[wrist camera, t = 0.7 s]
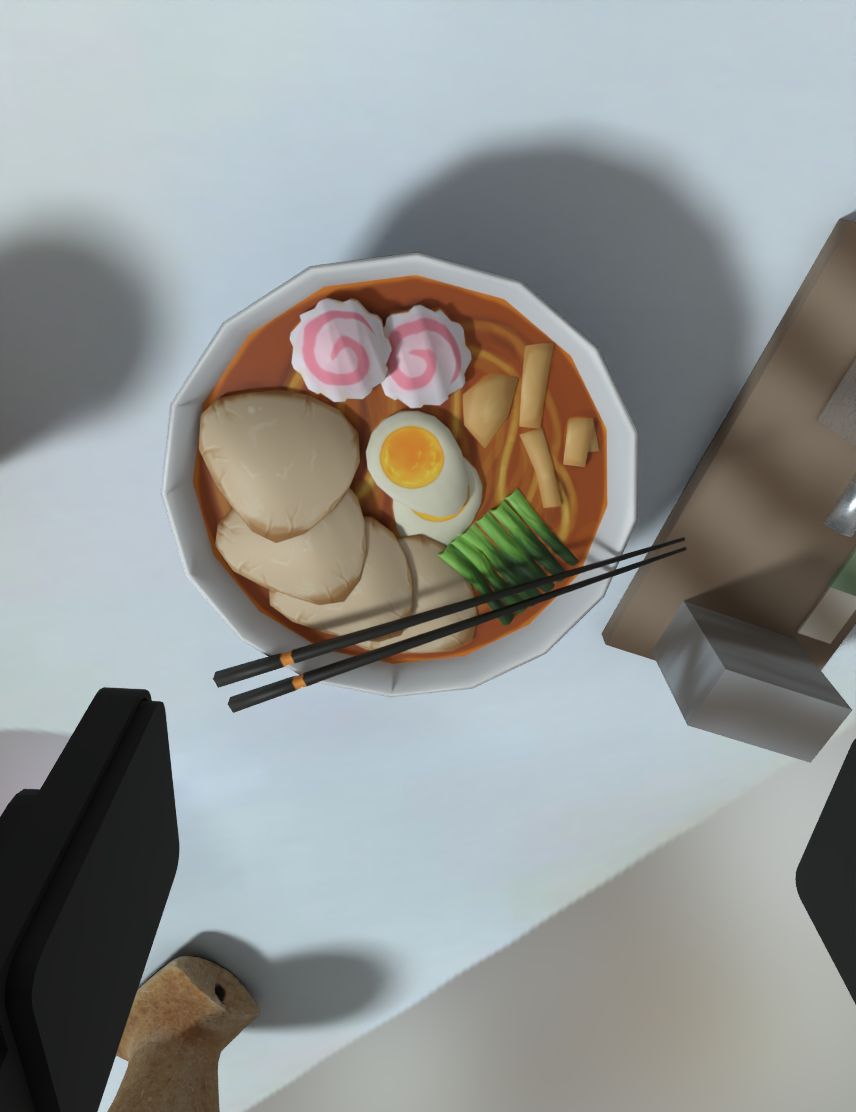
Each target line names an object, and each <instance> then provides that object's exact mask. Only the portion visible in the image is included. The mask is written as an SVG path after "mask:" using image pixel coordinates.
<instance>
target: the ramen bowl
mask: <svg viewBox="0 0 856 1112" xmlns="http://www.w3.org/2000/svg"><path fill="white" fill-rule="evenodd" d="M637 472H638V432H637V430H636V427H635V425H634V423H633V421H632V419H631V417H630V415H629V413H628V410H627V408H626V406H625V404H624V402H623V400H622V398H621V396H620V393H619V391H618V389H617V387H616V385H615V383H614V381H613V379H612V376H611V374H610V372H609V370H608V368H607V366H606V364H605V362H604V359H603V357H602V355H601V353H600V351H599V349H598V347H597V346H595V345H594V344H593V343H592V342H591V341H590V340H589V339H587V338H586V337H585V336H584V335H583V334H582V333H580V332H579V331H578V330H577V329H576V328H575V327H574V326H572V325H571V324H570V323H569V322H568V321H567V320H565V319H564V318H563V317H562V316H561V315H560V314H559V313H557V312H556V311H555V310H554V309H553V308H552V307H550V306H549V305H548V304H547V303H546V302H545V301H544V300H542V299H541V298H540V297H539V296H538V295H537V294H535V293H534V292H533V291H532V290H531V289H530V288H529V287H527V286H526V285H525V284H524V283H523V282H522V281H519V280H516V279H512V278H508V277H505V276H501V275H498V274H494V273H491V272H487V271H483V270H480V269H476V268H473V267H469V266H466V265H462V264H458V263H455V262H451V261H448V260H444V259H441V258H437V257H433V256H430V255H426V254H423V253H419V252H414V253H407V254H399V255H392V256H384V257H376V258H369V259H361V260H353V261H346V262H338V263H330V264H323V265H315V266H310V267H308V268H307V269H305V270H303V271H302V272H300V273H299V274H297V275H296V276H294V277H293V278H291V279H290V280H288V281H286V282H285V283H283V284H282V285H280V286H279V287H277V288H276V289H274V290H273V291H271V292H269V293H268V294H266V295H265V296H263V297H262V298H260V299H259V300H257V301H256V302H254V303H252V304H251V305H249V306H248V307H246V308H245V309H243V310H242V311H240V312H239V313H237V314H236V315H234V316H232V317H231V318H229V319H228V320H226V321H225V322H223V323H222V325H221V326H220V328H219V330H218V331H217V333H216V334H215V336H214V337H213V339H212V340H211V342H210V344H209V345H208V347H207V348H206V350H205V351H204V353H203V354H202V356H201V358H200V359H199V361H198V362H197V364H196V365H195V367H194V368H193V370H192V372H191V373H190V375H189V376H188V378H187V379H186V381H185V382H184V384H183V386H182V387H181V389H180V390H179V392H178V393H177V395H176V396H175V398H174V399H173V401H172V403H171V406H170V415H169V424H168V433H167V442H166V451H165V460H164V469H163V478H162V488H161V496H162V499H163V502H164V506H165V509H166V512H167V515H168V519H169V522H170V525H171V528H172V532H173V535H174V538H175V541H176V545H177V548H178V551H179V554H180V558H181V561H182V564H183V567H184V571H185V574H186V576H187V577H188V578H189V580H190V581H191V582H192V583H193V584H194V586H195V587H196V588H197V589H198V590H199V592H200V593H201V594H202V595H203V596H204V597H205V599H206V600H207V601H208V602H209V603H210V605H211V606H212V607H213V608H214V609H215V610H216V612H217V613H218V614H219V615H220V616H221V618H222V619H223V620H224V621H225V622H226V623H227V625H228V626H229V627H230V628H231V629H232V631H233V632H234V633H235V634H236V635H237V636H238V638H239V639H240V640H242V641H243V642H245V643H247V644H248V645H250V646H252V647H254V648H255V649H257V650H259V651H260V652H262V653H264V654H265V655H267V656H269V657H265V658H262V659H258V660H255V661H251V662H248V663H245V664H241V665H238V666H234V667H231V668H227V669H224V670H220V671H217V672H215V675H214V678H213V680H214V681H215V683H216V685H217V686H218V688H219V687H222V686H225V685H228V684H231V683H235V682H238V681H241V680H244V679H247V678H250V677H254V676H257V675H260V674H263V673H266V672H269V671H273V670H276V669H279V668H282V667H285V666H286V667H287V668H289V669H291V670H293V671H294V672H296V673H298V674H299V676H293V677H290V678H287V679H284V680H281V681H278V682H275V683H272V684H269V685H266V686H263V687H259V688H256V689H253V690H250V691H247V692H244V693H241V694H238V695H235V696H232V697H230V699H229V702H228V705H229V707H230V709H231V710H232V712H233V713H234V712H237V711H240V710H242V709H245V708H248V707H251V706H253V705H256V704H259V703H262V702H265V701H267V700H270V699H273V698H276V697H279V696H281V695H284V694H287V693H290V692H292V691H295V690H297V689H299V688H301V687H306V686H309V685H312V684H315V683H321V684H327V685H332V686H337V687H342V688H347V689H352V690H357V691H362V692H367V693H372V694H377V695H382V696H387V697H399V696H408V695H417V694H426V693H436V692H445V691H454V690H463V689H472V688H474V687H477V686H479V685H481V684H483V683H485V682H487V681H489V680H491V679H493V678H496V677H498V676H500V675H502V674H504V673H506V672H508V671H510V670H512V669H515V668H517V667H519V666H521V665H523V664H525V663H527V662H529V661H531V660H533V659H536V658H538V657H540V656H542V655H544V654H546V653H547V652H548V651H549V650H550V649H551V648H552V647H553V646H554V645H555V644H556V643H557V642H558V641H559V640H560V639H561V638H562V637H563V636H564V635H565V634H566V633H567V632H568V631H569V630H570V629H571V628H573V627H574V626H575V625H576V624H577V623H578V622H579V621H580V620H581V619H582V618H583V617H584V616H585V615H586V614H587V613H588V612H589V611H590V610H591V609H592V608H593V607H594V606H595V605H596V604H597V603H598V602H599V601H600V600H601V599H602V598H603V597H604V596H605V594H606V591H607V589H608V587H609V584H610V582H611V580H612V577H613V576H616V575H618V574H621V573H624V572H627V571H630V570H632V569H635V568H638V567H641V566H643V565H646V564H649V563H652V562H655V561H657V560H660V559H663V558H666V557H669V556H671V555H674V554H677V553H680V552H682V551H685V550H687V549H686V547H683V548H680V549H677V550H674V551H671V552H668V553H665V554H662V555H659V556H656V557H653V558H650V559H647V560H644V561H641V562H638V563H635V564H632V565H629V566H626V567H622V568H619V569H616V568H617V566H618V563H619V561H622V560H625V559H628V558H631V557H634V556H637V555H641V554H644V553H647V552H650V551H653V550H657V549H660V548H663V547H666V546H669V545H672V544H676V543H679V542H682V541H685V538H684V537H683V538H679V539H676V540H672V541H669V542H665V543H662V544H658V545H655V546H651V547H648V548H644V549H641V550H638V551H634V552H631V553H627V554H624V555H622V554H623V552H624V549H625V547H626V545H627V542H628V540H629V538H630V535H631V533H632V531H633V528H634V526H635V524H636V521H637Z"/></svg>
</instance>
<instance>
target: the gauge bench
mask: <svg viewBox="0 0 856 1112" xmlns="http://www.w3.org/2000/svg"><path fill="white" fill-rule="evenodd" d="M855 359H856V223H854V222H852V221H846V220H839V221H838V222H837V224H836V226H835V228H834V229H833V231H832V233H831V235H830V236H829V238H828V240H827V242H826V243H825V245H824V247H823V249H822V250H821V252H820V254H819V256H818V257H817V259H816V261H815V263H814V264H813V266H812V268H811V269H810V271H809V273H808V275H807V276H806V278H805V280H804V282H803V283H802V285H801V287H800V289H799V290H798V292H797V294H796V296H795V297H794V299H793V301H792V303H791V304H790V306H789V308H788V310H787V311H786V313H785V315H784V317H783V318H782V320H781V322H780V324H779V325H778V327H777V329H776V331H775V332H774V334H773V336H772V338H771V339H770V341H769V343H768V344H767V346H766V348H765V350H764V351H763V353H762V355H761V357H760V358H759V360H758V362H757V364H756V365H755V367H754V369H753V371H752V372H751V374H750V376H749V378H748V379H747V381H746V383H745V385H744V386H743V388H742V390H741V392H740V393H739V395H738V397H737V399H736V400H735V402H734V404H733V406H732V407H731V409H730V411H729V412H728V414H727V416H726V418H725V419H724V421H723V423H722V425H721V426H720V428H719V430H718V432H717V433H716V435H715V437H714V439H713V440H712V442H711V444H710V446H709V447H708V449H707V451H706V453H705V454H704V456H703V458H702V460H701V461H700V463H699V465H698V467H697V468H696V470H695V472H694V474H693V475H692V477H691V479H690V481H689V482H688V484H687V486H686V487H685V489H684V491H683V493H682V494H681V496H680V498H679V500H678V501H677V503H676V505H675V507H674V508H673V510H672V512H671V514H670V515H669V517H668V519H667V521H666V522H665V524H664V526H663V528H662V529H661V531H660V533H659V535H658V536H657V538H656V540H655V542H654V543H653V545H652V546H655V545H658V544H662V543H665V542H669V541H672V540H676V539H679V538H683V537H684V538H685V541H682V542H679V543H676V544H672V545H669V546H666V547H663V548H660V549H657V550H653V551H650V552H648V554H647V556H646V557H645V559H644V560H647V559H650V558H653V557H656V556H659V555H662V554H665V553H668V552H671V551H674V550H677V549H680V548H683V547H686V549H687V550H685V551H682V552H680V553H677V554H674V555H671V556H669V557H666V558H663V559H660V560H657V561H655V562H652V563H649V564H646V565H643V566H641V567H640V568H639V569H638V571H637V573H636V575H635V576H634V578H633V580H632V582H631V583H630V585H629V587H628V589H627V590H626V592H625V594H624V596H623V597H622V599H621V601H620V603H619V604H618V606H617V608H616V610H615V611H614V613H613V615H612V617H611V618H610V620H609V622H608V624H607V625H606V627H605V629H604V631H603V632H602V636H603V639H604V641H605V644H606V645H609V646H612V647H615V648H618V649H621V650H624V651H627V652H631V653H634V654H637V655H640V656H643V657H646V658H649V659H653V660H656V662H657V664H658V666H659V668H660V670H661V672H662V674H663V676H664V678H665V680H666V682H667V684H668V686H669V688H670V690H671V692H672V694H673V696H674V698H675V700H676V702H677V705H678V707H679V709H680V711H681V713H682V715H683V717H684V719H685V721H686V723H687V725H688V726H692V727H695V728H698V729H702V730H705V731H708V732H712V733H715V734H718V735H721V736H725V737H728V738H731V739H735V740H738V741H741V742H744V743H748V744H751V745H754V746H758V747H761V748H764V749H768V750H771V751H774V752H777V753H781V754H784V755H787V756H791V757H794V758H797V759H801V760H804V761H807V762H811V761H812V760H813V759H814V758H815V756H816V755H817V754H818V752H819V751H820V750H821V749H822V748H823V746H824V745H825V744H826V743H827V741H828V740H829V739H830V737H831V736H832V735H833V734H834V732H835V731H836V730H837V729H838V727H839V726H840V725H841V724H842V722H843V721H844V720H845V719H846V717H847V716H848V715H849V714H850V712H851V711H852V709H851V708H850V707H849V705H848V704H847V703H846V702H845V700H844V699H843V698H842V697H841V695H840V694H839V693H838V692H837V690H836V689H835V688H834V687H833V685H832V684H831V683H830V682H829V680H828V679H827V678H826V677H825V675H824V674H823V673H822V672H821V670H822V668H823V667H824V666H825V664H826V663H827V662H828V660H829V659H830V658H831V656H832V655H833V654H834V652H835V651H836V650H837V648H838V647H839V646H840V644H841V643H842V642H843V640H844V639H845V638H846V636H847V635H848V634H849V632H850V631H851V630H852V628H853V627H854V626H855V624H856V531H855V533H854V534H853V536H852V537H848V536H845V535H842V534H840V533H838V532H836V531H834V530H832V529H831V528H829V527H828V526H826V525H825V524H824V523H823V521H824V520H825V518H826V517H827V515H828V514H829V512H830V511H831V509H832V508H833V506H834V505H835V503H836V502H837V500H838V499H839V498H840V496H841V495H842V493H843V492H844V490H845V489H846V487H847V486H848V484H849V483H850V481H851V480H852V478H853V477H854V475H855V474H856V446H855V445H853V444H852V443H850V442H849V441H847V440H845V439H844V438H842V437H841V436H839V435H838V434H836V433H835V432H833V431H831V430H830V429H828V428H827V427H825V426H824V425H822V424H821V423H819V422H817V419H818V418H819V416H820V414H821V413H822V411H823V410H824V408H825V406H826V405H827V403H828V402H829V400H830V399H831V397H832V395H833V394H834V392H835V391H836V389H837V387H838V386H839V384H840V383H841V381H842V380H843V378H844V376H845V375H846V373H847V372H848V370H849V368H850V367H851V365H852V364H853V362H854V360H855Z"/></svg>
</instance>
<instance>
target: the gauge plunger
mask: <svg viewBox="0 0 856 1112" xmlns="http://www.w3.org/2000/svg"><path fill="white" fill-rule="evenodd" d="M817 422H819V423H821V424H822V425H824V426H825V427H827V428H828V429H830V430H831V431H833V432H835V433H836V434H838V435H839V436H841V437H842V438H844V439H845V440H847V441H849V442H850V443H852V444H853V445H855V446H856V359H855V360H854V362H853V364H852V365H851V367H850V368H849V370H848V372H847V373H846V375H845V376H844V378H843V380H842V381H841V383H840V384H839V386H838V387H837V389H836V391H835V392H834V394H833V395H832V397H831V399H830V400H829V402H828V403H827V405H826V406H825V408H824V410H823V411H822V413H821V414H820V416H819V418H818V419H817ZM823 523H824V524H825V525H826V526H828V527H829V528H831V529H832V530H834V531H836V532H838V533H840V534H842V535H845V536H848V537H852V536H853V534H854V533H855V531H856V474H855V475H854V477H853V478H852V480H851V481H850V483H849V484H848V486H847V487H846V489H845V490H844V492H843V493H842V495H841V496H840V498H839V499H838V500H837V502H836V503H835V505H834V506H833V508H832V509H831V511H830V512H829V514H828V515H827V517H826V518H825V520H824V521H823Z"/></svg>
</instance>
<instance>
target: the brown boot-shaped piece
mask: <svg viewBox="0 0 856 1112" xmlns="http://www.w3.org/2000/svg"><path fill="white" fill-rule="evenodd" d="M259 1013H260V1009H259V1006H258V1004H257V1003H256V1002H255V1000H254V999H253V998H252V997H251V996H250V994H249V993H248V991H247V990H246V988H245V987H244V986H243V985H242V984H241V983H240V982H239V981H238V980H237V979H236V978H235V977H234V976H233V975H232V974H231V973H230V972H229V971H228V970H226V969H224V968H222V967H220V966H219V965H217V964H214V963H213V962H211V961H208V960H205V959H201V958H198V957H191V956H181V957H178V958H176V959H174V960H173V961H171V962H170V963H168V964H167V965H166V966H165V967H163V968H162V969H161V970H160V971H158V972H157V973H156V974H155V975H153V976H152V977H151V978H150V979H149V980H148V981H147V982H146V983H144V984H143V985H142V986H141V987H140V988H139V989H138V990H137V993H136V996H135V999H134V1002H133V1005H132V1008H131V1011H130V1014H129V1017H128V1020H127V1023H126V1026H125V1029H124V1032H123V1035H122V1038H121V1041H120V1044H119V1048H118V1051H117V1054H116V1055H117V1056H119V1057H120V1058H122V1059H124V1060H127V1061H129V1062H128V1068H127V1070H126V1073H125V1075H124V1078H123V1080H122V1083H121V1085H120V1087H119V1090H118V1092H117V1094H116V1097H115V1099H114V1101H113V1103H112V1105H111V1106H110V1108H109V1110H108V1112H220V1111H219V1093H218V1061H219V1057H220V1053H221V1051H222V1050H223V1049H224V1048H225V1047H226V1046H227V1045H228V1044H229V1043H230V1042H231V1041H232V1040H233V1039H234V1038H235V1037H236V1036H237V1035H238V1034H239V1033H240V1032H241V1031H242V1030H243V1029H244V1028H245V1027H246V1026H247V1025H248V1024H249V1023H250V1022H252V1021H253V1020H254V1019H255V1018H256V1017H257V1016H258V1015H259Z"/></svg>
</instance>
